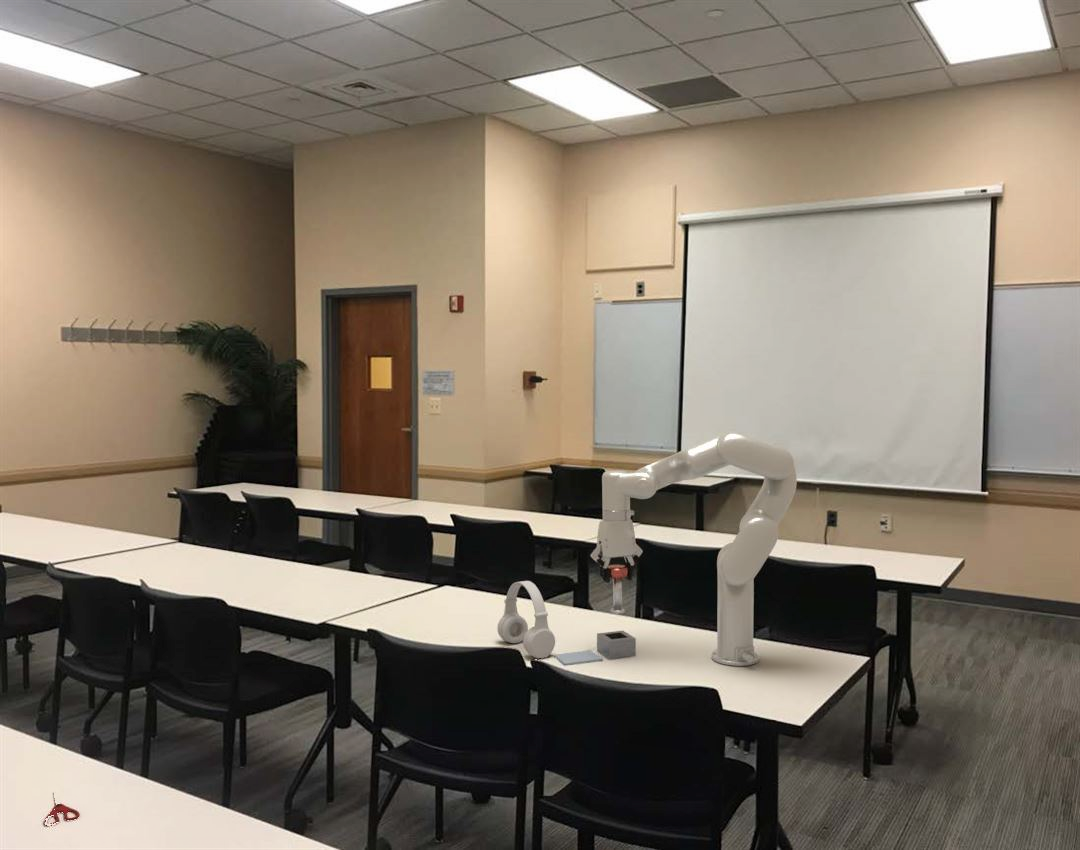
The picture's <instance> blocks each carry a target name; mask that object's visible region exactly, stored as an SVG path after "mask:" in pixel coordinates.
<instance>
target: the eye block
mask: <svg viewBox="0 0 1080 850" xmlns="http://www.w3.org/2000/svg"><path fill="white" fill-rule="evenodd" d="M636 641H637V639H636V637H634V636H633V635H631V634H629V633H628V632H626V631H624V630H616V631H615V630H614V631H607V632H600V633H599V632H598V633H596V652H598V653H599V654H601V655H602V656H604V658H606V659H607V660H609V661H611V660H617V659H624V658H634V657H636V655H637V653H636V651H637V650H636V649H637V648H636V643H637V642H636Z"/></svg>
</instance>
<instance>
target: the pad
mask: <svg viewBox="0 0 1080 850" xmlns="http://www.w3.org/2000/svg"><path fill="white" fill-rule="evenodd" d="M553 657H554V658H555V657H556V658H557V659H558V660H557V659H556V658H555V659H556V660H557V661H558V662H560V663H561V665H563V666H572V665H579V664H587V663H592V662H593V663H594V662H602V661H603V658H602V657H601V656H599V655H598V654H597V653H596V652H594V651H592V650H591V649H590V650H581V651H574V652H573V651H572V652H565V653H558V654H553Z"/></svg>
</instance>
